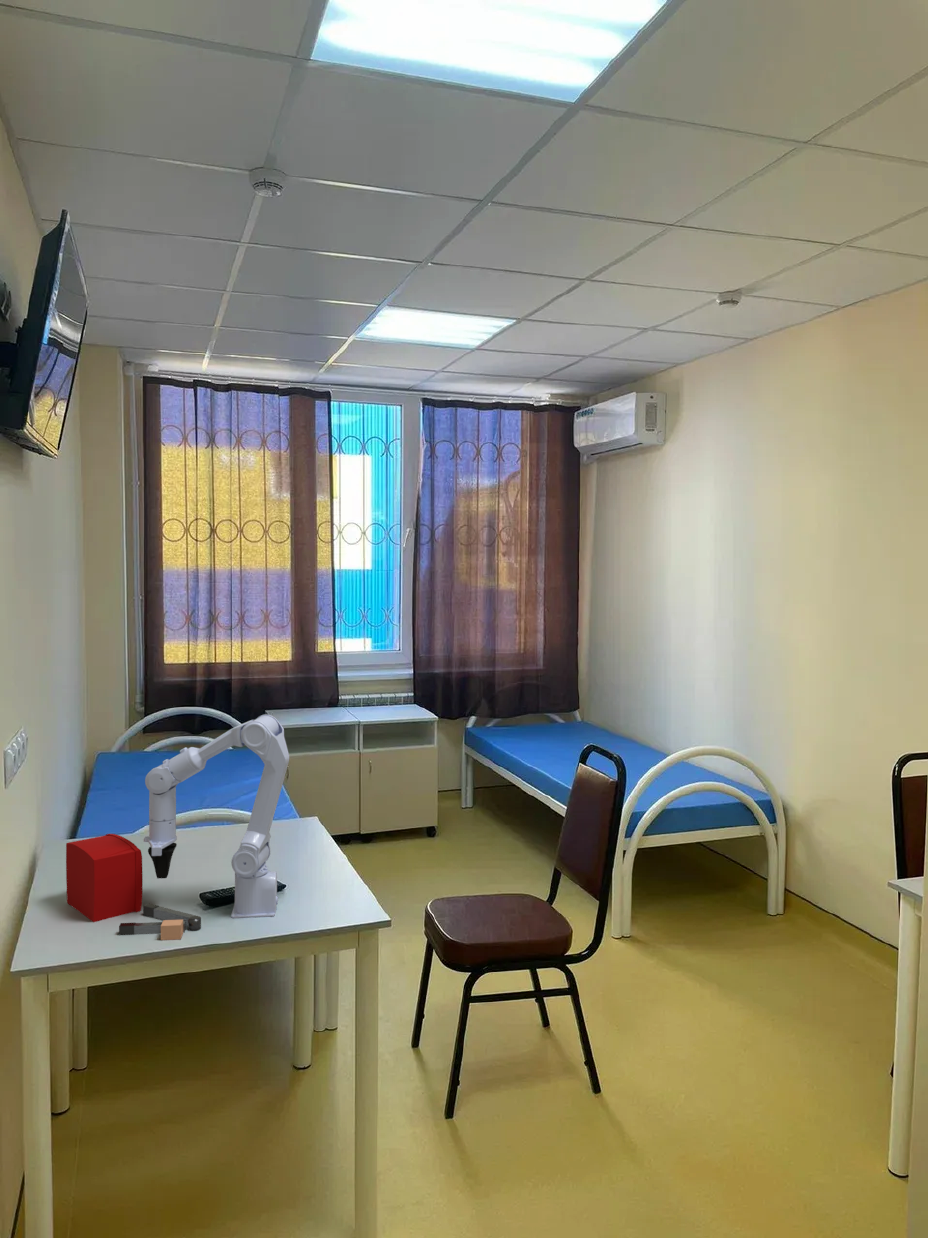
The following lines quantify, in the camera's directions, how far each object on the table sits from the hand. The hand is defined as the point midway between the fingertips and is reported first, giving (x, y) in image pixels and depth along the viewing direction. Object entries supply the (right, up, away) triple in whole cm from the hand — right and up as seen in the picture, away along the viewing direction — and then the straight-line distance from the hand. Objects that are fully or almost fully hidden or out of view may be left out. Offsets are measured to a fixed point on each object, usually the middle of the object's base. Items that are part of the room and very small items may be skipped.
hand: (162, 877), depth 201 cm
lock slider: (+7, -8, -16) cm, 19 cm away
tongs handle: (+3, -8, -14) cm, 16 cm away
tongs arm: (+5, -7, -8) cm, 12 cm away
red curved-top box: (-13, -7, 0) cm, 15 cm away
